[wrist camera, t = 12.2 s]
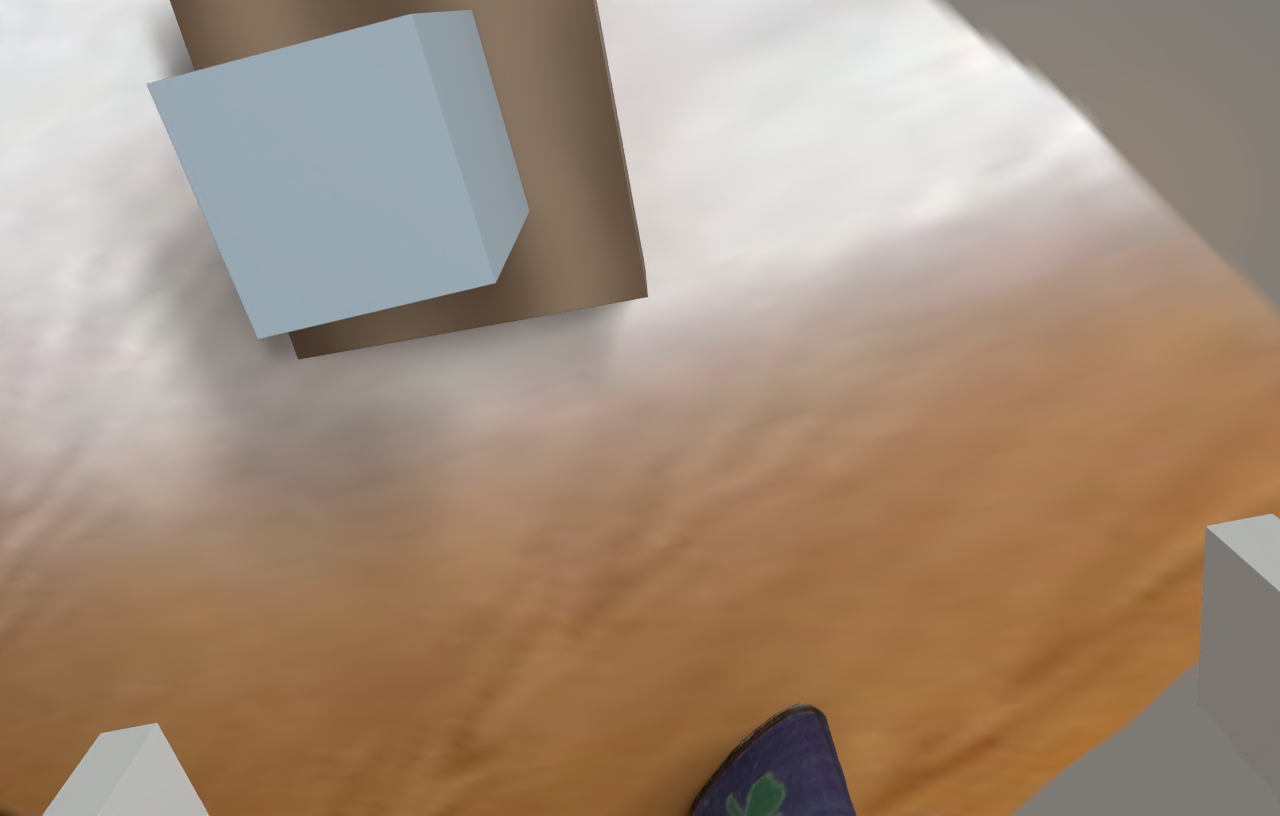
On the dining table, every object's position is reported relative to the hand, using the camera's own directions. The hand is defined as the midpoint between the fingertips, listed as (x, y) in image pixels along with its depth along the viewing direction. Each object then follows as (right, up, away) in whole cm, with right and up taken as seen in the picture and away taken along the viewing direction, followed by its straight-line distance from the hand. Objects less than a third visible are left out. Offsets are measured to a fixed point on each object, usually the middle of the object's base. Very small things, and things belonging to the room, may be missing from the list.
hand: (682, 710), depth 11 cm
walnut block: (-7, +13, +20) cm, 25 cm away
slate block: (-8, +12, +16) cm, 22 cm away
